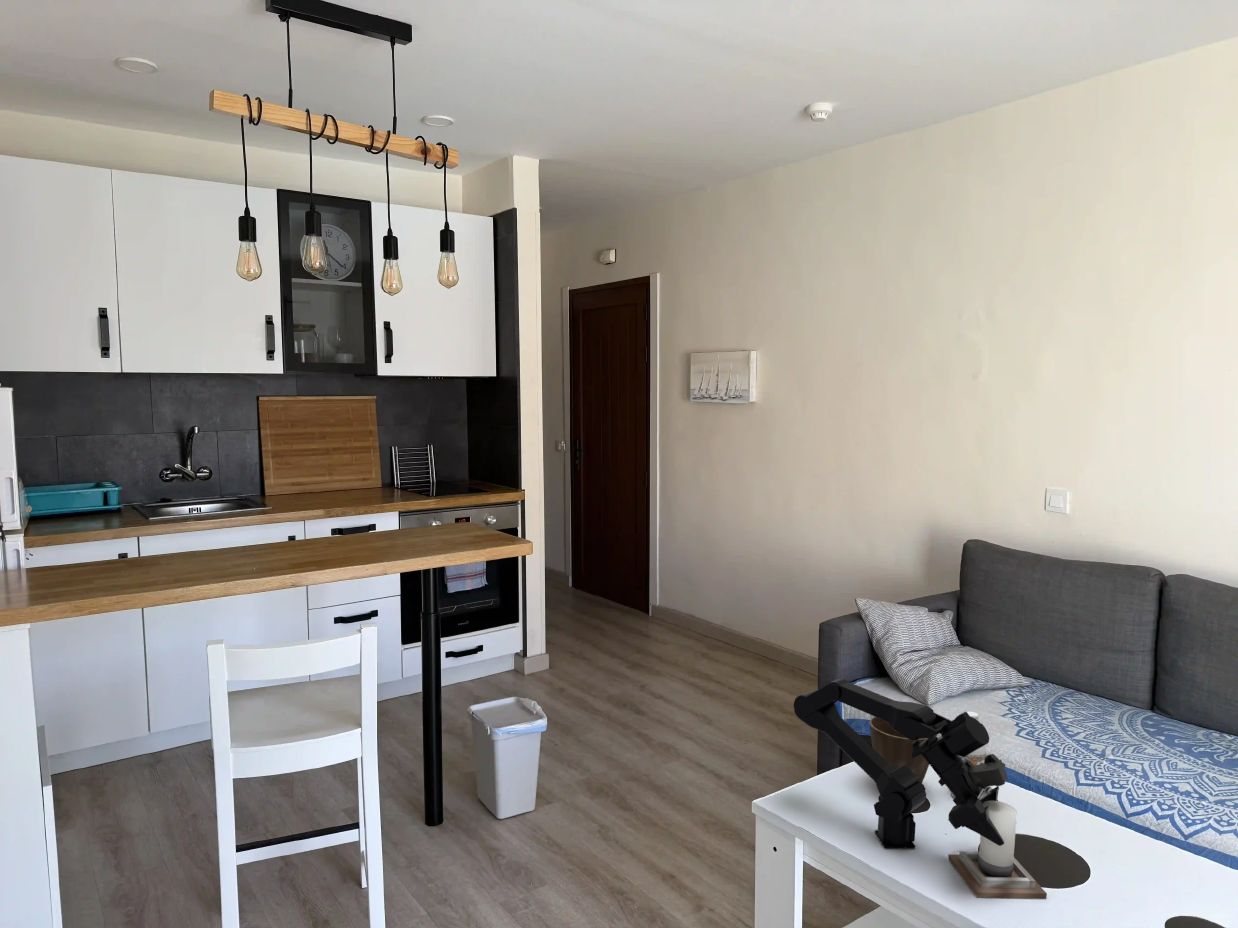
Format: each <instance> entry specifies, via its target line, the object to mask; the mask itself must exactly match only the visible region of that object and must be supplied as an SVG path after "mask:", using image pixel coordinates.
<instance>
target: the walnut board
mask: <svg viewBox="0 0 1238 928" xmlns="http://www.w3.org/2000/svg"><path fill="white" fill-rule="evenodd" d="M958 852H959V853H957V854H955V853H954V854H953V853H952V854H949V853H948V855H947V859H948V861H949V863H950V864H951V865H952V866H953V867H954V869H955V870H956V872H957V873H958V874H959V876H960V877H961V878H962V880H963V881H964V882H965V884H966V885H967V886H968V888H969V889H970V891H971V892H972V893H973V894H974V896H975V897H976V898H979V899H1039V900H1040V899H1041V900H1043V899H1047V897H1048V896H1047V892H1046V891H1045V890H1044V889H1043V888H1042V886H1041V885H1040V884H1039V883H1038V882H1037V881H1036V880H1035V879H1034V877H1033V876H1032V875H1031V874H1030V873H1029V872H1028V871H1027V870H1026V869H1025V867H1024V866H1023V865H1022V864H1021V863H1020V862H1019V861H1018V859H1016V858H1015V857H1014V858H1013V873H1012V875H1011V876H1008V877H997V876H993V875H990V874H988V873H986V872H984V871H983V870H981V869H980V867H979V866H978V859H979V851H977V850H976V851H975V850H974V851H973V850H972V851H969V850H967V851H965V850H960V851H958Z"/></svg>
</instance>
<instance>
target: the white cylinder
mask: <svg viewBox="0 0 1238 928" xmlns="http://www.w3.org/2000/svg"><path fill="white" fill-rule="evenodd" d="M983 806H984V808H985V807H987V806H989V813H988V816H989V818H990V820H991V821H992V823H993V825H994V826H995V828H996V829H997V831H998V833H999V834H1000V836H1001V838H1002V839H1003V841H1004V844H1003V845H1001V846H999V845H997V844H995V843H993V842H992V841H990V840H988V839H987V838H985V837H983V836H982V835H980V834H979V835H980V838H979V849H978V850H979V859H978V866H979V867H980V869H981V870H983V871H984V872H986V873H988V874H990V875H993V876H997V877H1008V876H1011V875H1012V873H1013V858H1015V842H1016V830H1017V829H1016V828H1017V817H1018V816H1017V815H1018V810H1017V809H1016V808H1015V807H1014V806H1013V805H1012V804H1011V805H1010V804H1008V803H1006V802H1003V801H999V800H998V801H986V802H984V803H983Z"/></svg>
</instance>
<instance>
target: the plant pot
mask: <svg viewBox="0 0 1238 928" xmlns="http://www.w3.org/2000/svg"><path fill="white" fill-rule="evenodd" d="M869 729H870V738H871V739H870V740H871V747H872V748H873V749H874V750H876V751H877V752H878V753H879V754H880V755H881V756H882V757H883V758H884V759H885V760H886V761H887V762H888V763H889V764H891V765H892V766H894V767H897V768H899V767H901V766H903V765H906V766H907V767H908V768H909V769H910V770H911V771H912V772H913V773H914V774H915V775H916V776H918V777H920V778H921V779H920V780H919V781H921V782H922V783H923V781H924V780H925V777H926V775H927V772H928V769H929V767H930V764H929V763H928V762H927V760H926V759H925V758H924V757H923V755H922V754H921V755H919V756H917V757H916V758H912V757H911V755H912V744H913V743H914V742H915V741H916V740H910V739H908V738H906V737H905V736H903V735H901V734H900V733H898V732H897V731H895V730H894V729H893V728H892V727H891V726H890V724H889V723H887V722H886V721H884V720H882V719H880V718H877V717H875V716H873V717H872V718H871V719H870V720H869ZM935 737H938V735H936V736H935ZM926 739H928V738H920V739H918V740H917V741H921V742H923V741H925V740H926Z"/></svg>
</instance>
